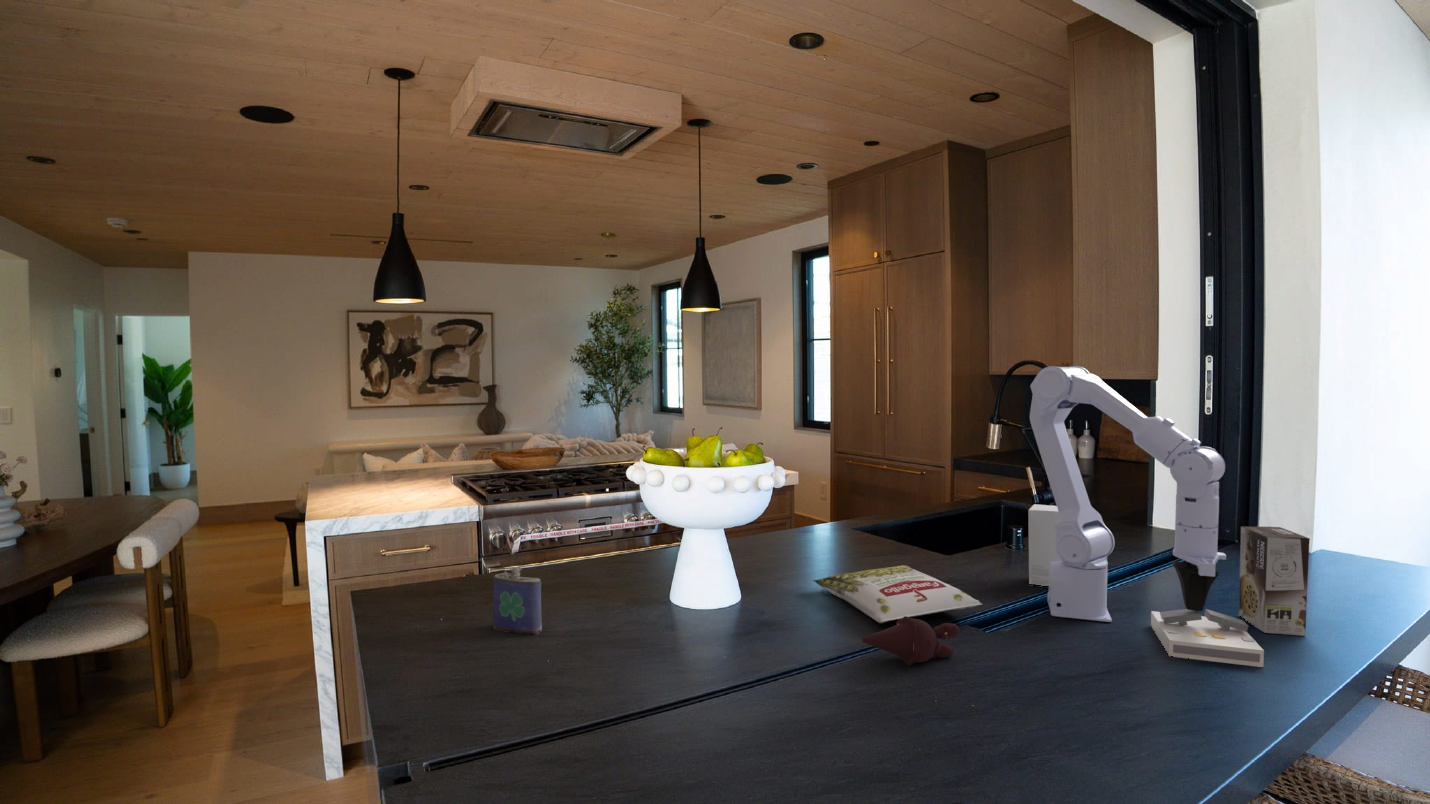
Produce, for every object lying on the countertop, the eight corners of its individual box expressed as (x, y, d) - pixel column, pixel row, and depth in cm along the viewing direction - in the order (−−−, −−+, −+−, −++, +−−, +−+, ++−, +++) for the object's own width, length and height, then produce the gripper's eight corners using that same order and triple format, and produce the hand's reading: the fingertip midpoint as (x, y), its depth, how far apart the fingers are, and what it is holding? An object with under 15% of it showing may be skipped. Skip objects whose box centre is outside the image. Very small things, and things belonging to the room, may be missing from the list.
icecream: (875, 634, 106) (972, 636, 109) (858, 605, 113) (949, 607, 116) (866, 675, 108) (962, 676, 111) (849, 644, 115) (940, 646, 118)
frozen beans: (903, 552, 153) (985, 587, 129) (904, 580, 153) (986, 620, 129) (811, 565, 146) (880, 604, 122) (812, 595, 146) (881, 639, 123)
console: (1169, 656, 114) (1169, 639, 114) (1150, 625, 127) (1151, 610, 127) (1263, 667, 110) (1264, 649, 109) (1234, 634, 123) (1235, 618, 123)
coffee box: (1307, 636, 122) (1311, 538, 121) (1263, 633, 123) (1266, 536, 122) (1277, 617, 131) (1281, 526, 130) (1236, 615, 132) (1239, 524, 131)
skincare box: (1076, 583, 151) (1078, 506, 150) (1072, 592, 146) (1074, 512, 145) (1032, 577, 156) (1033, 502, 155) (1026, 585, 150) (1027, 508, 149)
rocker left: (1165, 628, 120) (1163, 617, 120) (1162, 622, 122) (1159, 612, 122) (1203, 624, 118) (1200, 613, 118) (1198, 618, 120) (1195, 607, 121)
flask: (545, 630, 126) (543, 567, 125) (534, 636, 123) (533, 572, 122) (499, 624, 129) (498, 562, 128) (488, 629, 126) (486, 566, 126)
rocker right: (1207, 624, 118) (1210, 614, 117) (1202, 618, 120) (1205, 608, 120) (1245, 636, 116) (1248, 626, 116) (1239, 630, 119) (1242, 620, 118)
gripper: (1240, 536, 110) (1237, 627, 111) (1213, 517, 124) (1210, 598, 125) (1185, 532, 113) (1182, 621, 114) (1164, 514, 127) (1162, 593, 127)
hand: (1193, 609), depth 119 cm, fingers closed
